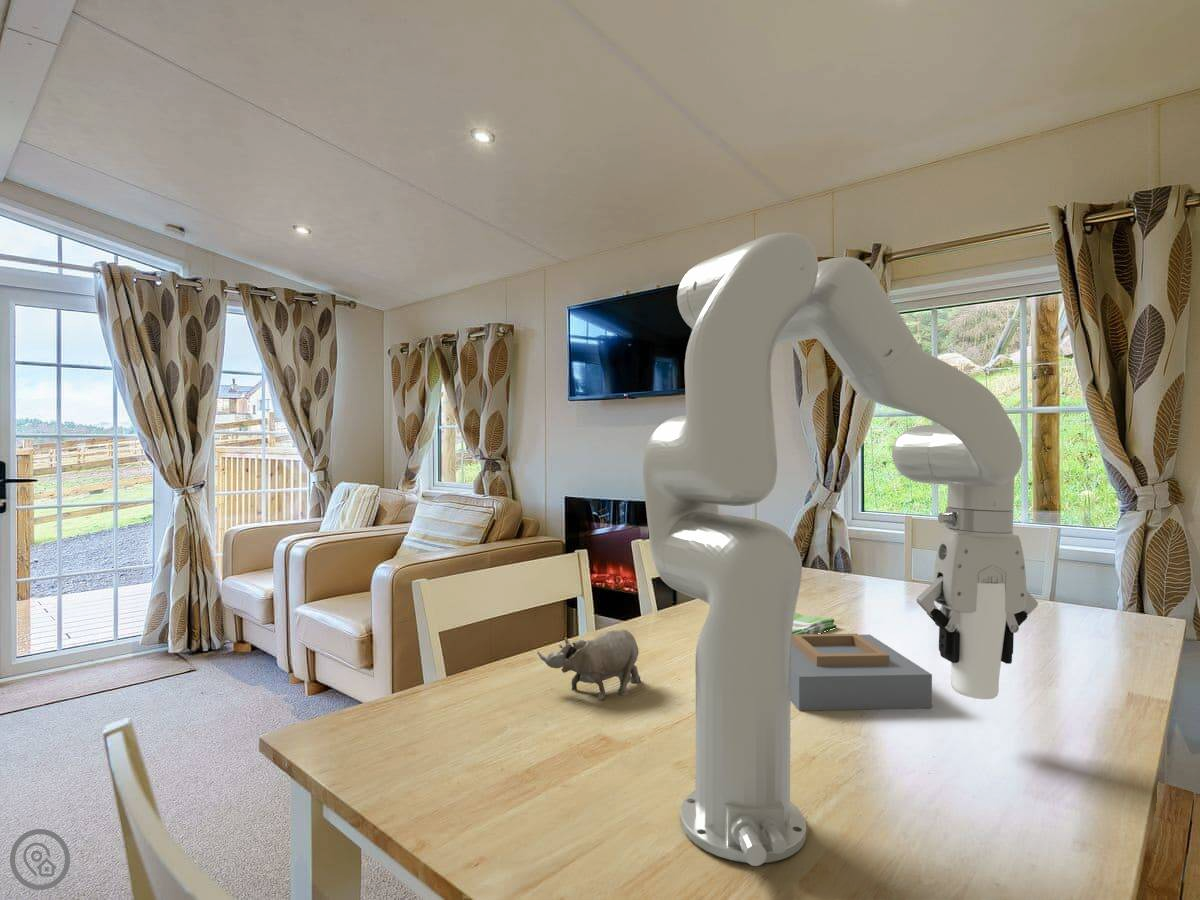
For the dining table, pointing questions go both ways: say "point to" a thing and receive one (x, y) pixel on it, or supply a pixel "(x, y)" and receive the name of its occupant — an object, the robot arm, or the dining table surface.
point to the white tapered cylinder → (981, 644)
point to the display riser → (854, 674)
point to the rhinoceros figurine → (599, 660)
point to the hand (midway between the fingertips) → (975, 658)
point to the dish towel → (811, 624)
